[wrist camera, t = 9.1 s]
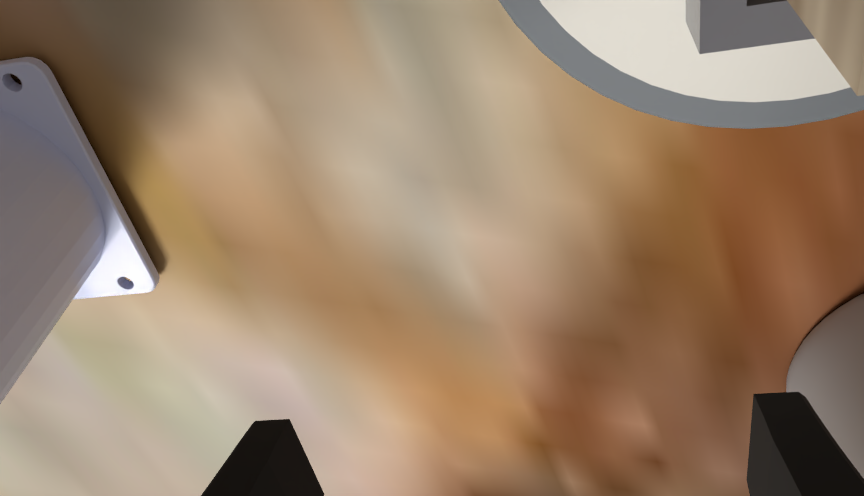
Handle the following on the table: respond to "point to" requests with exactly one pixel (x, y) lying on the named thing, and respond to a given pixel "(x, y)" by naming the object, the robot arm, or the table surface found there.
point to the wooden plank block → (838, 34)
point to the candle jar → (693, 58)
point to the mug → (835, 376)
